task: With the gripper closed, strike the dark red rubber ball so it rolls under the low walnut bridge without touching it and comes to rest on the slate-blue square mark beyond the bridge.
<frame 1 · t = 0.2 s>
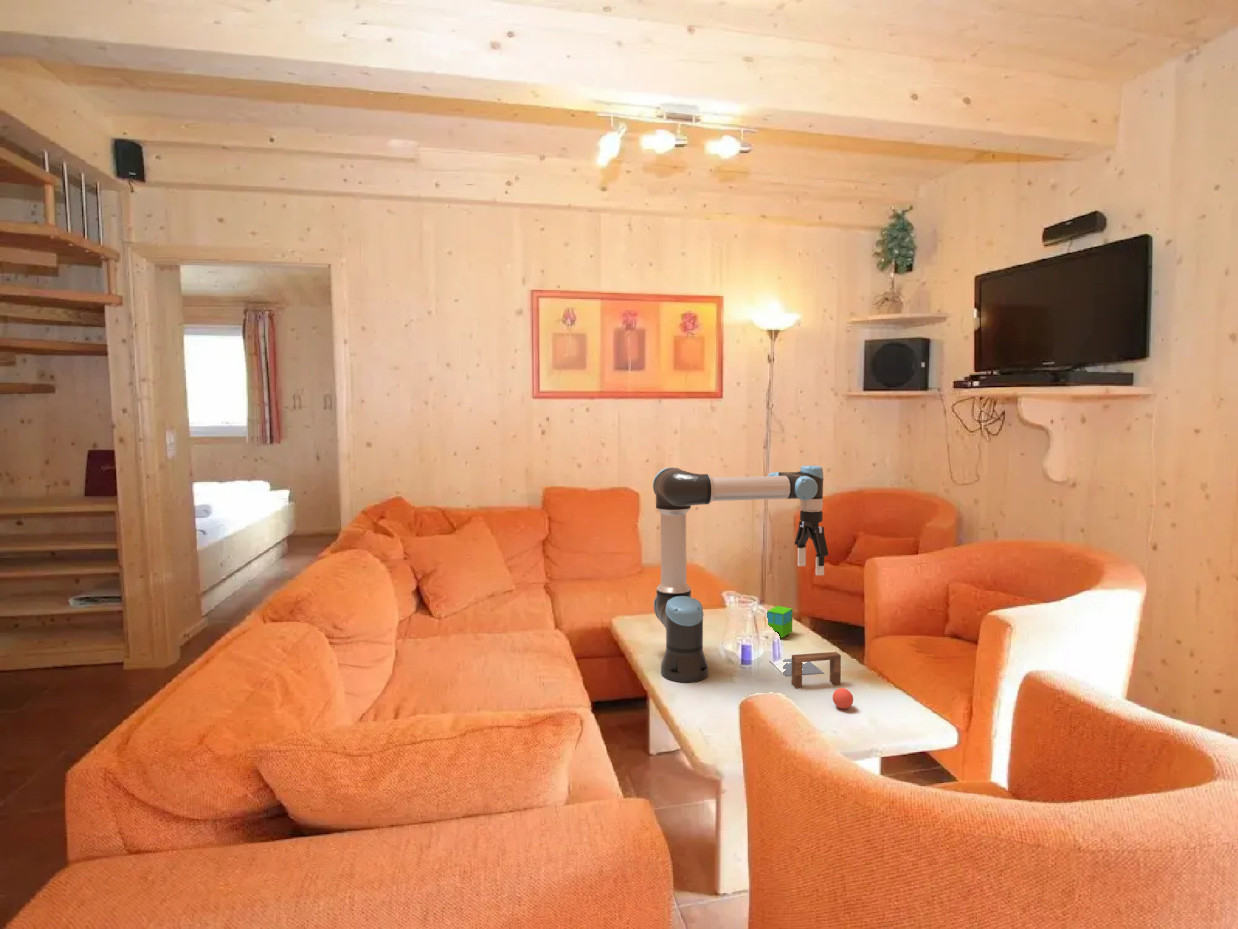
hand: (810, 570, 225), 28 cm above the table, tool pointing down, fingers open, 13 cm apart
ball: (842, 698, 180), on the table
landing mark: (795, 667, 210), on the table
bridge: (815, 684, 196), on the table
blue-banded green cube: (770, 634, 242), on the table
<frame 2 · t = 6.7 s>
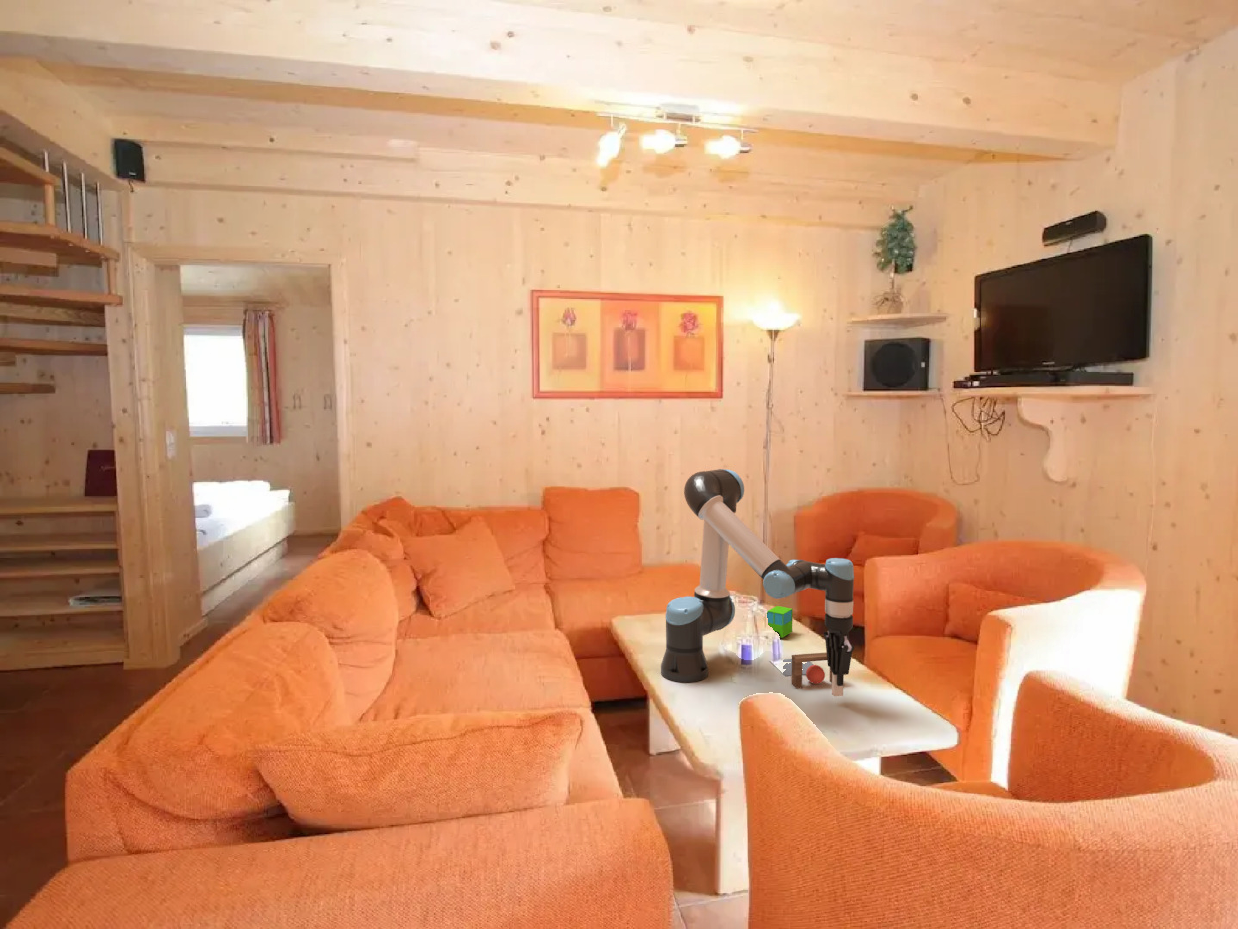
hand: (837, 695, 183), 2 cm above the table, tool pointing down, fingers closed
ball: (815, 674, 197), on the table
everything else where it was.
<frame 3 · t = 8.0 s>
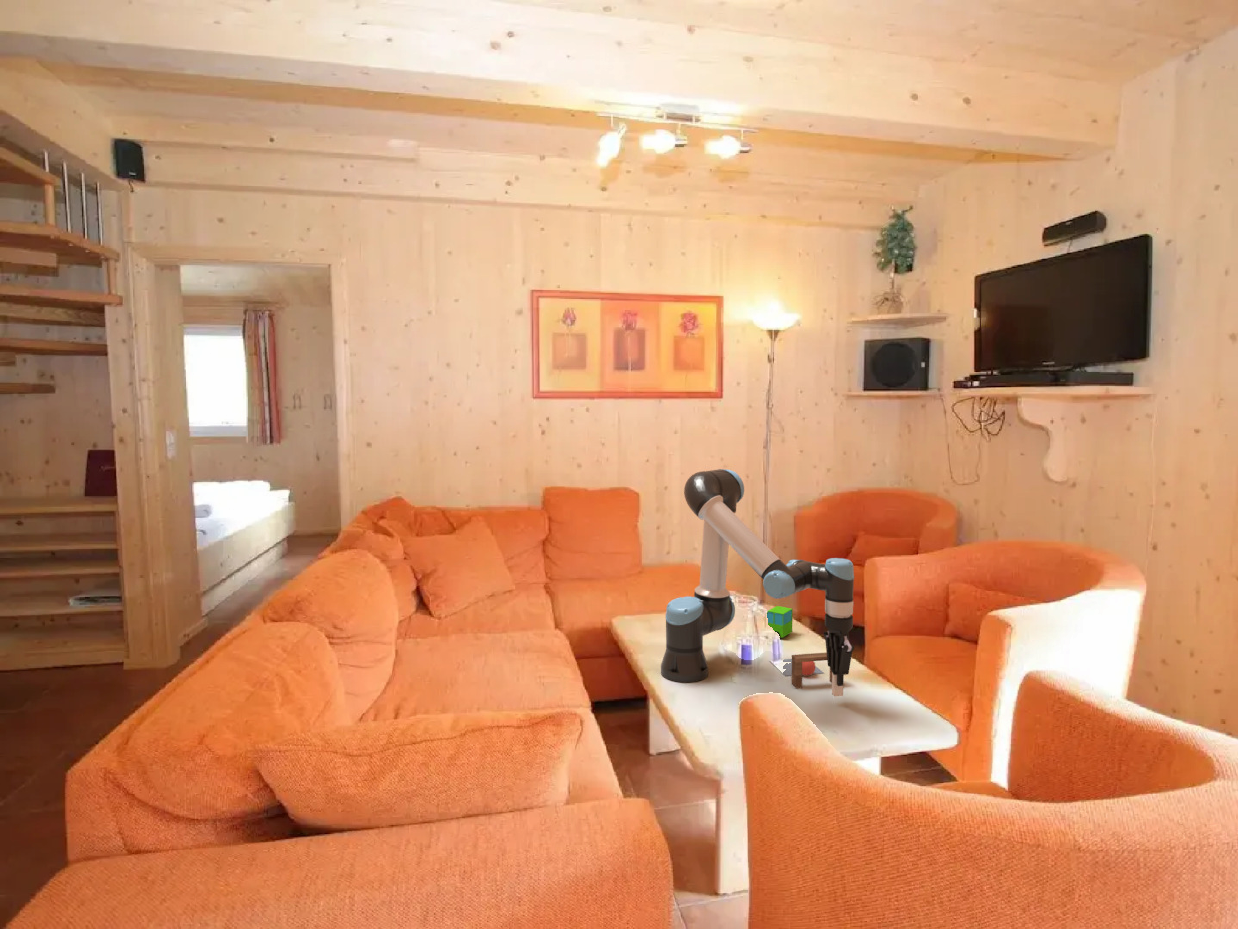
hand: (837, 695, 183), 2 cm above the table, tool pointing down, fingers closed
ball: (806, 666, 203), on the table
everything else where it was.
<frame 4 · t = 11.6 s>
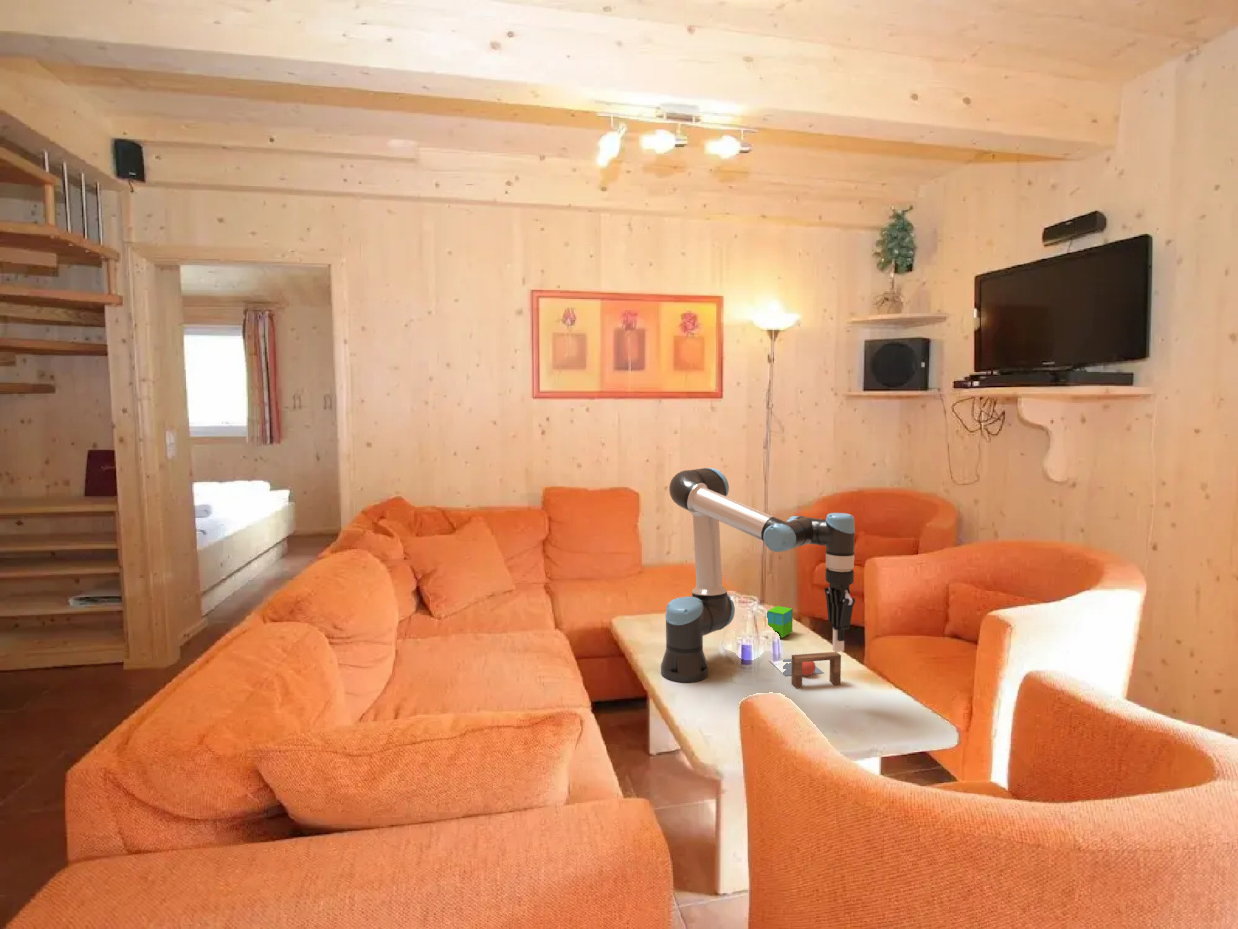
hand: (838, 650, 182), 15 cm above the table, tool pointing down, fingers closed
nothing on the table moved.
at the end: ball 6.6 cm from the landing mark (horizontally); ball never touched bridge; ball at rest at the end (0.0 cm/s) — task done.
